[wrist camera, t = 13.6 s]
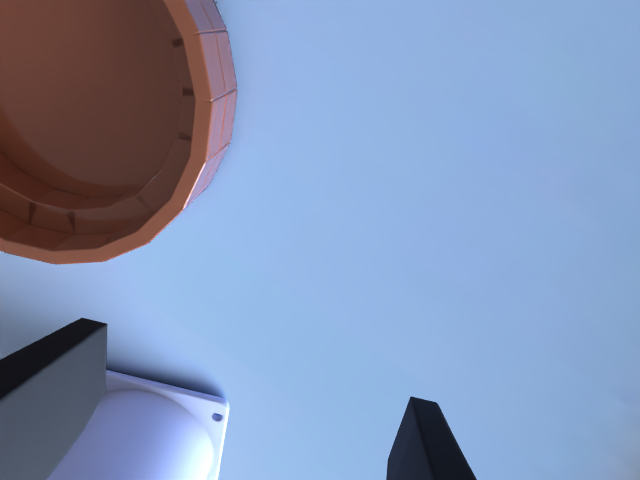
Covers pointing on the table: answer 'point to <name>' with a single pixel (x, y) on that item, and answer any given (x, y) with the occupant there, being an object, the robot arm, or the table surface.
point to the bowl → (107, 121)
